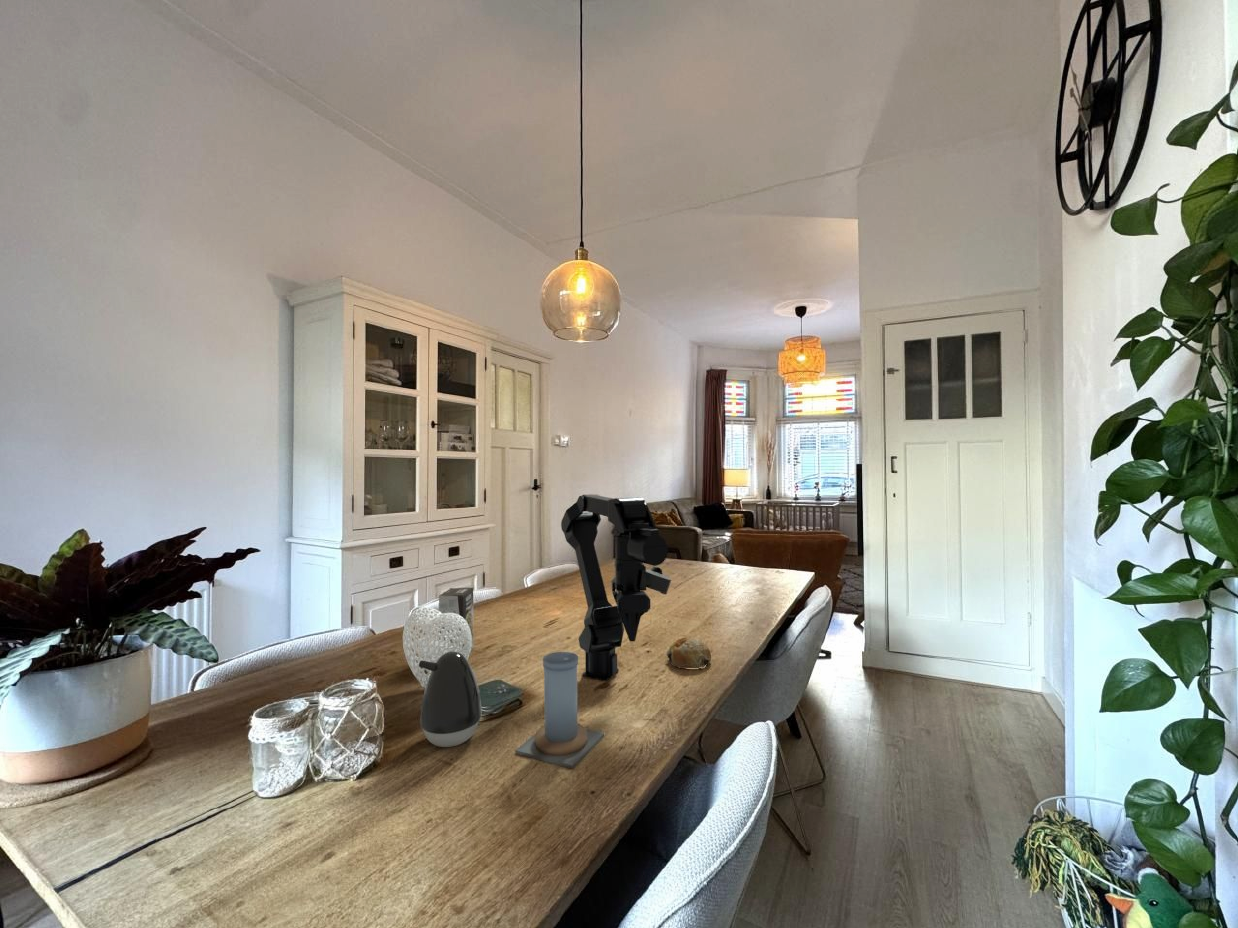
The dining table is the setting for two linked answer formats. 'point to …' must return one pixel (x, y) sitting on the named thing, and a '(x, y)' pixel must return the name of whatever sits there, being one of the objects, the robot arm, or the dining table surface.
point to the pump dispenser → (450, 701)
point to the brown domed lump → (689, 653)
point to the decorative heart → (433, 638)
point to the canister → (560, 696)
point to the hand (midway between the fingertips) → (629, 633)
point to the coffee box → (458, 607)
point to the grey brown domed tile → (560, 747)
